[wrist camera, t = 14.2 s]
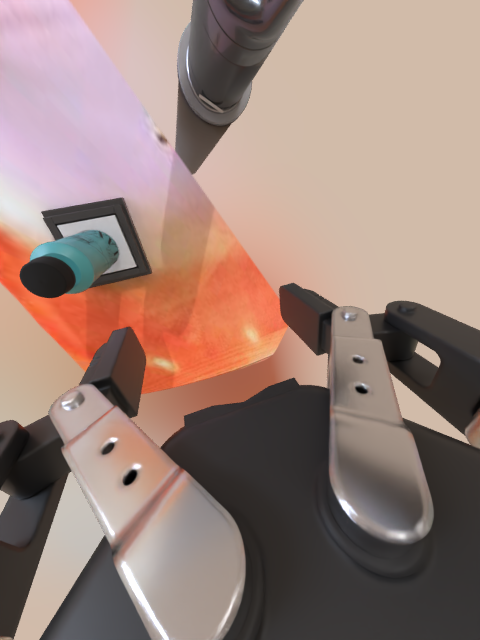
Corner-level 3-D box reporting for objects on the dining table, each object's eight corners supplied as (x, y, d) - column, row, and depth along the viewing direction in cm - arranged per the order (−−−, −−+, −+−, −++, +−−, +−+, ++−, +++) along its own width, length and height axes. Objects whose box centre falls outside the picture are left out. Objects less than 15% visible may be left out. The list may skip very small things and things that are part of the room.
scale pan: (61, 224, 36) (56, 225, 35) (116, 214, 37) (114, 215, 36) (89, 275, 41) (86, 278, 39) (137, 264, 42) (136, 266, 41)
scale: (44, 211, 36) (35, 211, 33) (123, 197, 38) (119, 197, 35) (88, 286, 43) (83, 291, 40) (152, 271, 45) (151, 275, 42)
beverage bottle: (127, 262, 40) (94, 304, 23) (89, 267, 39) (24, 316, 22) (114, 225, 37) (65, 243, 20) (72, 229, 35) (-19, 252, 19)
